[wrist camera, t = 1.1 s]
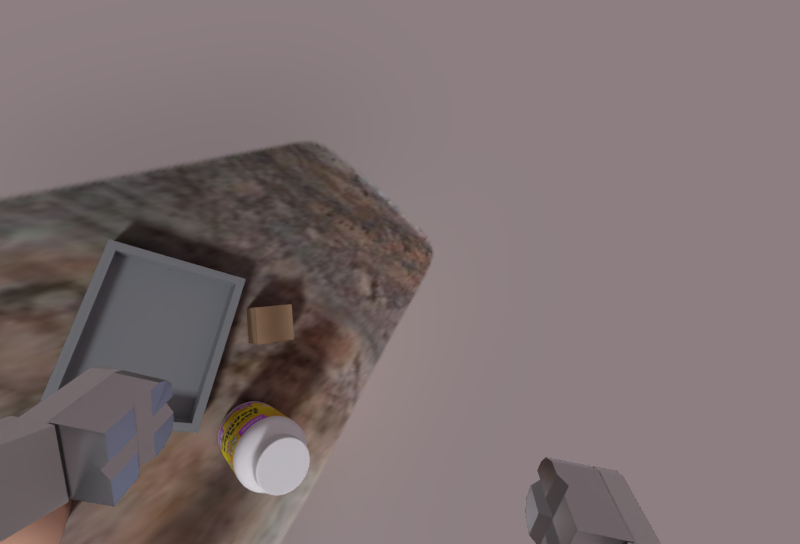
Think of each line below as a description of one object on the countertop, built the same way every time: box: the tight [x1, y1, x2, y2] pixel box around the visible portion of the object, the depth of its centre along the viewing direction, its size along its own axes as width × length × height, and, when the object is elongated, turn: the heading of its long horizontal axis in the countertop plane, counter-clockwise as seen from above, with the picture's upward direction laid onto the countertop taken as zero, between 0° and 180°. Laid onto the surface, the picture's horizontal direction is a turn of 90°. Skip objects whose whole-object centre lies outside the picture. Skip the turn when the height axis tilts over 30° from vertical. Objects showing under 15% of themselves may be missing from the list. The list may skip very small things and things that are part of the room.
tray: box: [40, 239, 246, 433], centre depth 38 cm, size 13×16×3 cm
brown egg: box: [0, 499, 72, 544], centre depth 30 cm, size 5×5×6 cm
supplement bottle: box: [218, 401, 310, 495], centre depth 38 cm, size 7×7×13 cm
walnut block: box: [247, 304, 294, 344], centre depth 44 cm, size 4×4×4 cm
